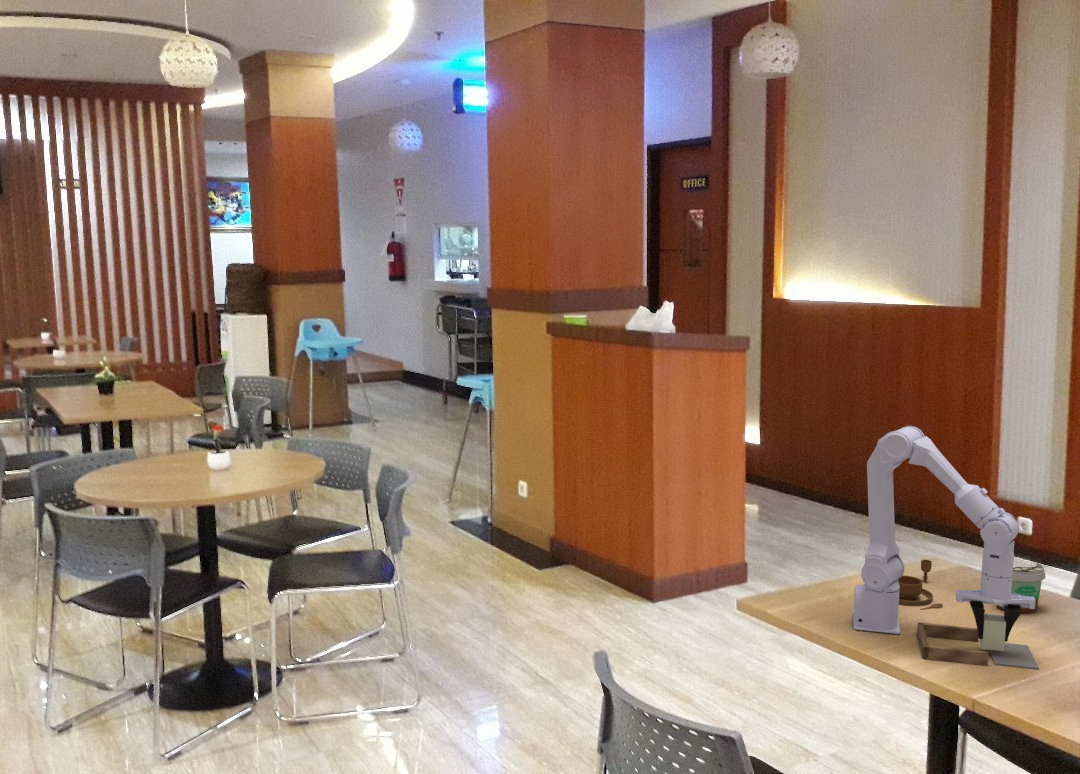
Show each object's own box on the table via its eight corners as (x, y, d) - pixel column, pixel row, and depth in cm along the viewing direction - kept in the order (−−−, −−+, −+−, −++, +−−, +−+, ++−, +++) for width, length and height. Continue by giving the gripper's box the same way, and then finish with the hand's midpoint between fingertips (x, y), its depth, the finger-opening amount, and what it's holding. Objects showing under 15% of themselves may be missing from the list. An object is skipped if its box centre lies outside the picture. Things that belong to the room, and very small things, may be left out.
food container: (1009, 618, 229) (1012, 574, 228) (990, 608, 235) (993, 566, 234) (1055, 613, 232) (1058, 570, 231) (1035, 604, 238) (1038, 562, 237)
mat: (994, 664, 203) (995, 663, 203) (985, 642, 215) (986, 641, 214) (1039, 669, 201) (1039, 667, 201) (1027, 646, 212) (1027, 645, 212)
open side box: (923, 658, 206) (923, 646, 205) (917, 633, 219) (917, 622, 219) (987, 665, 202) (988, 653, 202) (977, 639, 216) (978, 628, 216)
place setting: (859, 591, 248) (861, 567, 247) (923, 581, 256) (924, 558, 255) (912, 615, 232) (914, 589, 231) (978, 603, 240) (980, 579, 239)
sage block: (982, 648, 207) (984, 620, 206) (979, 641, 211) (981, 613, 210) (1004, 650, 206) (1006, 622, 205) (1000, 643, 210) (1002, 615, 209)
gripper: (960, 576, 205) (956, 641, 206) (1040, 583, 201) (1035, 649, 203) (956, 566, 211) (952, 629, 213) (1033, 572, 207) (1028, 636, 209)
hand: (992, 638), depth 208 cm, fingers closed on sage block, 4 cm apart
